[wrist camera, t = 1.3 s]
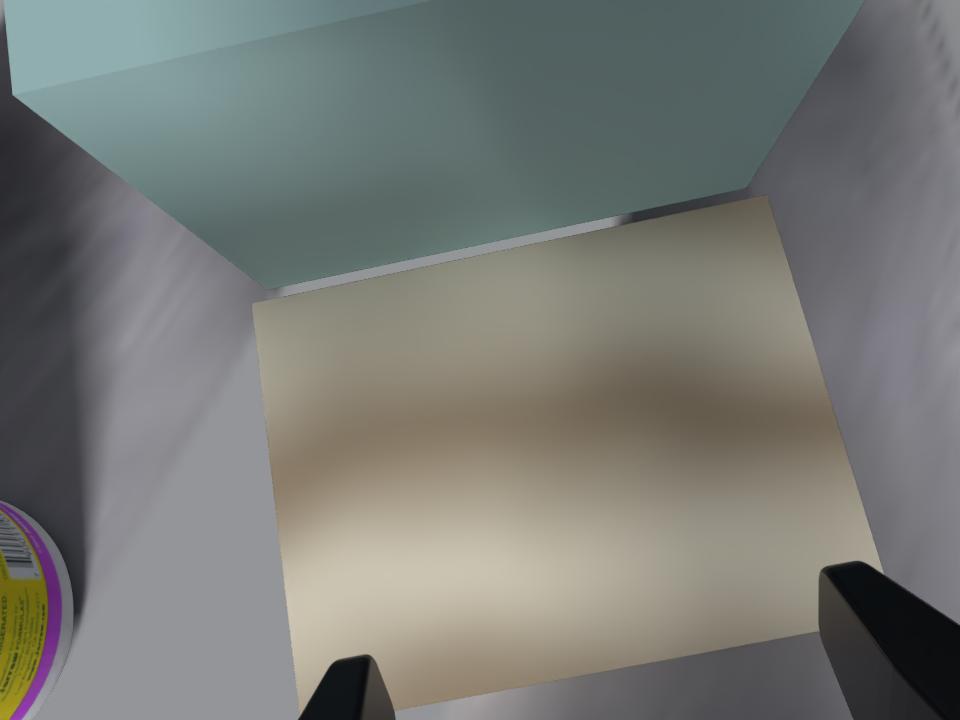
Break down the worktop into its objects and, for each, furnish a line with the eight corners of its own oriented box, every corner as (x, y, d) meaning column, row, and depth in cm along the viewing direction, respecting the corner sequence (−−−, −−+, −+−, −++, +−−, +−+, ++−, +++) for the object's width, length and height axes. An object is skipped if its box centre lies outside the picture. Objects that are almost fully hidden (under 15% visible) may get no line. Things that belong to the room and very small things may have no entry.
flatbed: (869, 613, 19) (896, 616, 18) (322, 716, 20) (301, 728, 18) (752, 221, 22) (766, 194, 20) (273, 322, 22) (251, 303, 21)
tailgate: (746, 188, 20) (937, -115, 10) (267, 289, 21) (12, 95, 11) (722, 98, 21) (883, -274, 11) (253, 200, 21) (-4, -66, 11)
